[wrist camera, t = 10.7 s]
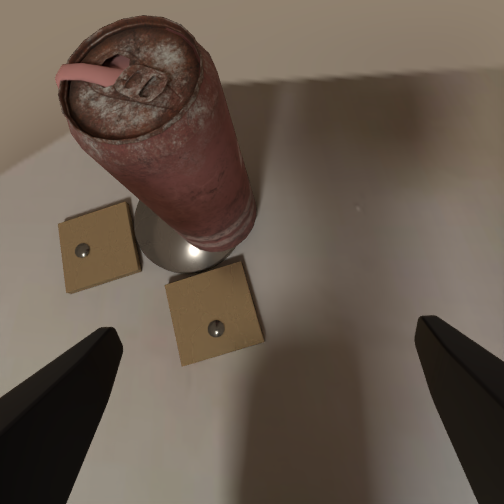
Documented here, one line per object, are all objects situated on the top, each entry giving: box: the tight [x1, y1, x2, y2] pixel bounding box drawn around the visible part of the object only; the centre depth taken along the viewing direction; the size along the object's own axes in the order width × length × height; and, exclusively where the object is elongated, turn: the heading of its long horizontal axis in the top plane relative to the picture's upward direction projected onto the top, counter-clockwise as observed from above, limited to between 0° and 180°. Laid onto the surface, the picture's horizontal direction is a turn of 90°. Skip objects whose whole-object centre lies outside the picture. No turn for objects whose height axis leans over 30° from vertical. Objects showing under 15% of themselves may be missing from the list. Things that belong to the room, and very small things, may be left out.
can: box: [55, 15, 256, 252], centre depth 18 cm, size 6×6×14 cm
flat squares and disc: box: [58, 200, 265, 366], centre depth 25 cm, size 15×15×1 cm
